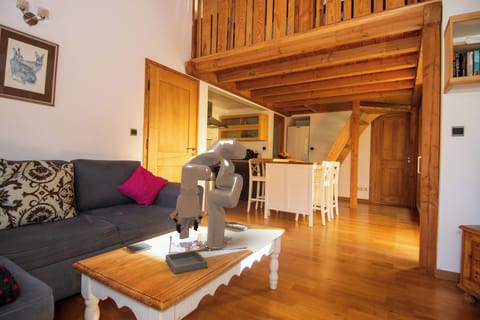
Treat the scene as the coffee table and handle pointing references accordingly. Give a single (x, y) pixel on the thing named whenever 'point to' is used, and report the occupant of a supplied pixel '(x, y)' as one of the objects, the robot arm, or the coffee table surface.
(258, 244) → the coffee table surface
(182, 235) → the lighter
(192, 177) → the robot arm
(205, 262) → the tray
